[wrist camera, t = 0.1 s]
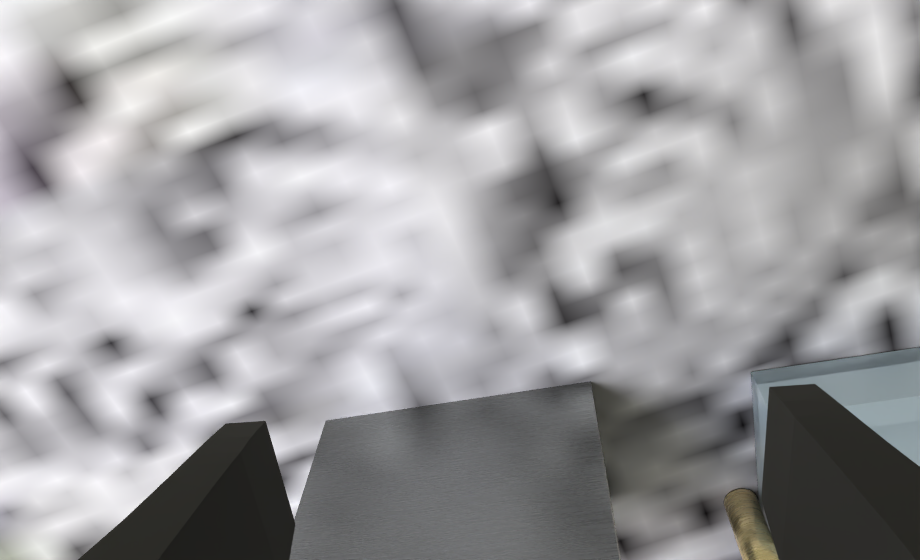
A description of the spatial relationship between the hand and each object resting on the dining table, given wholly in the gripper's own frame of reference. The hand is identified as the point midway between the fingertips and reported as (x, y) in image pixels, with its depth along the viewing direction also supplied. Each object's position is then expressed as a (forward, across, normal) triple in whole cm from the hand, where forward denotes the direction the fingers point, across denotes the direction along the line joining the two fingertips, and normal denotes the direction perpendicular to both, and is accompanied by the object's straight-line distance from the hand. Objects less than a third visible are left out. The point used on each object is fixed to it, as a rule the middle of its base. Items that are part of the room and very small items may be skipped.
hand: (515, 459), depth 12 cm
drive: (+10, +2, +8) cm, 13 cm away
